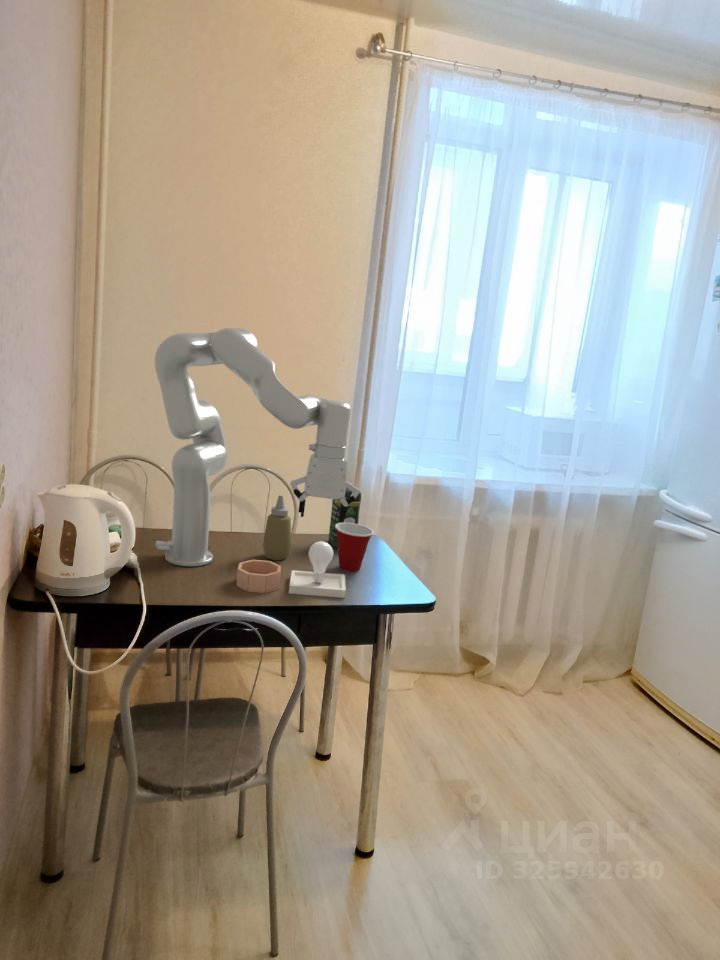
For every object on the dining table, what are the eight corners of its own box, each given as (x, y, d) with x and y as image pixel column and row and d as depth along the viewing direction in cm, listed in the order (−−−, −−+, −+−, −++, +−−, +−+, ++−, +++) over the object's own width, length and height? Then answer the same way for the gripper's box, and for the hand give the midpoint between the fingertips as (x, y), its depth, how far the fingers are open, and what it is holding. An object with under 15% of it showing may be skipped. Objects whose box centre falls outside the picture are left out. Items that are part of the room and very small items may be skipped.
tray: (288, 593, 180) (289, 585, 179) (291, 577, 190) (291, 570, 190) (345, 597, 181) (345, 590, 180) (344, 581, 191) (344, 574, 191)
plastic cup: (373, 576, 198) (377, 534, 195) (333, 574, 196) (338, 532, 193) (365, 562, 208) (370, 522, 205) (328, 560, 206) (332, 520, 203)
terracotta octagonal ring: (234, 590, 178) (235, 573, 177) (239, 574, 188) (241, 558, 187) (277, 593, 179) (279, 576, 178) (280, 578, 189) (281, 561, 188)
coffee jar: (325, 539, 224) (330, 481, 220) (349, 539, 227) (355, 482, 223) (333, 550, 215) (339, 490, 211) (359, 550, 218) (365, 490, 214)
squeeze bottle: (292, 562, 201) (297, 500, 197) (263, 562, 199) (268, 499, 195) (288, 552, 209) (293, 492, 205) (260, 552, 207) (264, 491, 203)
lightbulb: (333, 587, 184) (337, 545, 181) (309, 587, 181) (313, 546, 179) (326, 578, 189) (330, 538, 187) (302, 578, 187) (306, 538, 185)
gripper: (293, 450, 173) (286, 518, 177) (365, 459, 175) (355, 526, 179) (295, 444, 181) (287, 509, 185) (363, 452, 182) (354, 517, 186)
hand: (321, 517), depth 182 cm, fingers open, 9 cm apart
